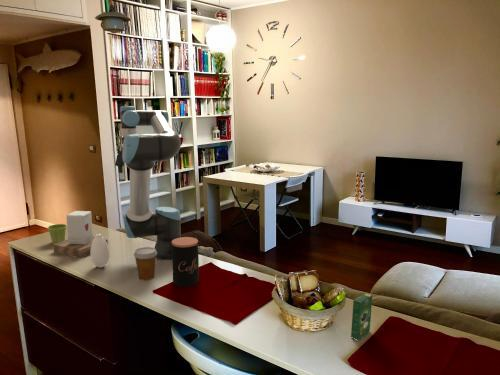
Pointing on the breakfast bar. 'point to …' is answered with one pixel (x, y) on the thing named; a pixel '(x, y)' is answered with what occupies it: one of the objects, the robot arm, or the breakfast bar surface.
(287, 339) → the breakfast bar surface
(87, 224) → the supplement box
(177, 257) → the coffee jar
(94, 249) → the white teardrop-shaped piece
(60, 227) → the plant pot
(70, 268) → the breakfast bar surface
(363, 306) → the coffee box
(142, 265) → the disposable coffee cup
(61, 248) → the walnut riser
